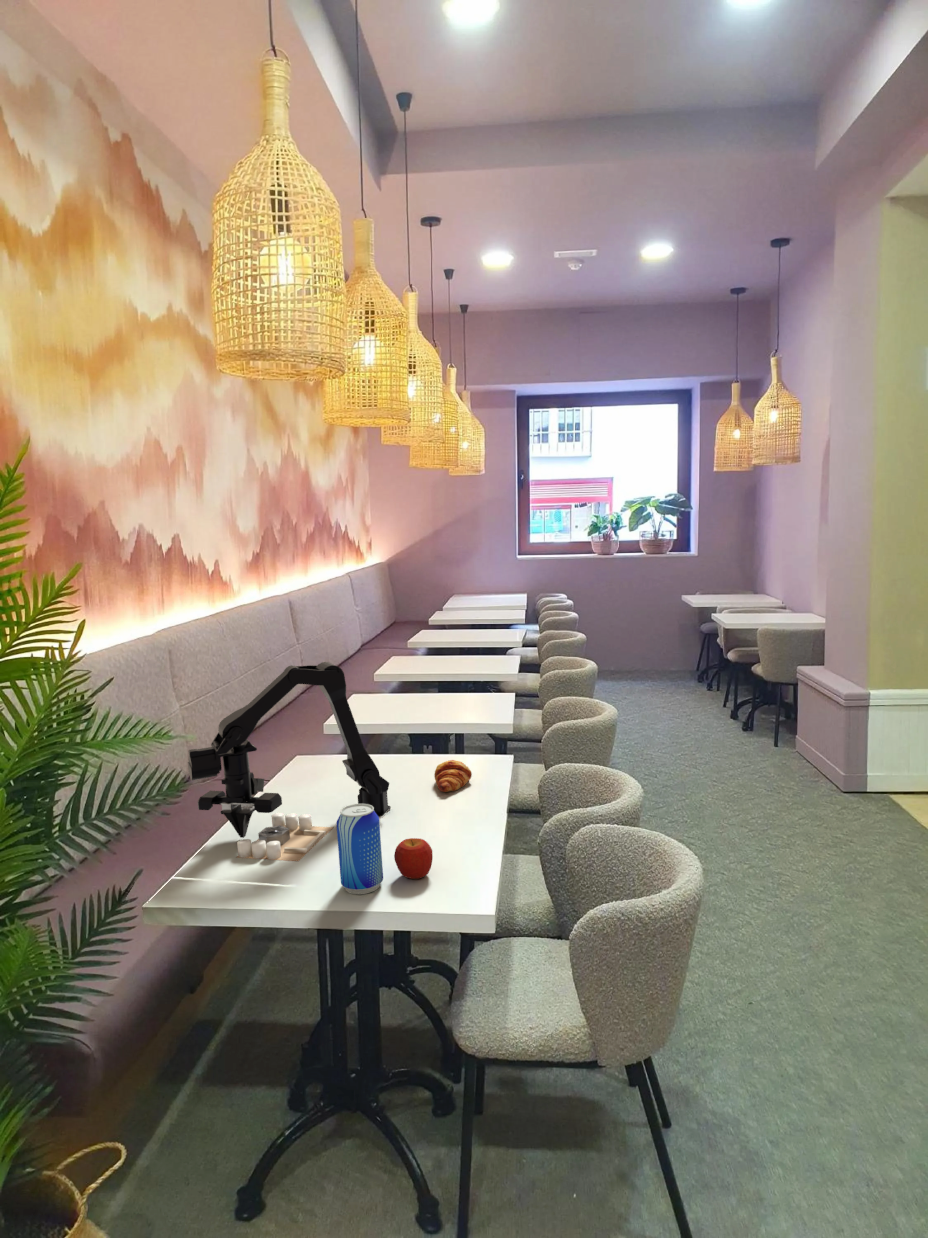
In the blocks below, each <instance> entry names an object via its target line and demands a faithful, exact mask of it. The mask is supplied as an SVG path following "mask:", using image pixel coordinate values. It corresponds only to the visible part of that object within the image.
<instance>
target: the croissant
mask: <svg viewBox="0 0 928 1238" xmlns="http://www.w3.org/2000/svg"><path fill="white" fill-rule="evenodd" d="M472 774H473V773H472V770H471V769H470V768H469V766H467V765H466V764H464V763H463V761H460V760H455V759H450V760H446V761H444V762H442V763H439V764H438V765H437V766H436V768H435V770H434V775H433V776H434V780H435V783H436V786H437V789H438V790H439V791H440V792H443V793H447V792H454V791H457V790H459V789H460V788H463V787H464V786H465V785H466V784H467V783H468V782H469V781H470V780H471V778H472V776H473V775H472Z"/></svg>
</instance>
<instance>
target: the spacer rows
mask: <svg viewBox="0 0 928 1238" xmlns="http://www.w3.org/2000/svg"><path fill="white" fill-rule="evenodd" d="M312 821H313V820H312V814H310V813H303V814H300V815H298V813H288V814H286V815H285V813H284V812H275V813H273V814H272V815H271V827H273V826H279V825H281V826H284V827H285V825H286V828H289V830H295V829H297V828H299V830H301V831H304V830H310V829H312V826H313V822H312ZM256 840H257V841H256ZM256 840H253V841H252V839H249V838H244V839H241V840H238V841H237V842H236V844H237V854H238V855H237V856H239V857H241V858H240V859H246V858H245V857H249V856H251V855H252V854H253V858H256V859H255V860H260V859H259V858H263V857H265V856H266V855H267V858H268V859H271V860H272V859H278V858H280V857H281V847H280V842H279V841H270V842H268V843H267V844H266V841H265V840H258V839H256ZM266 849H267V852H266ZM268 859H267V860H268ZM271 860H270V861H271ZM272 861H273V860H272Z"/></svg>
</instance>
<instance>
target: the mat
mask: <svg viewBox="0 0 928 1238" xmlns="http://www.w3.org/2000/svg"><path fill="white" fill-rule="evenodd" d="M285 827H286V824H285ZM333 829H334V827H332V826H316V825H314V826H313V825H312V829H310V830H304V831H301V830H299V828H297V829H295V830H289V832H290V839H289V840H288V841H287V842H286V843H285V844H284V845H280V847H281V857H280V858H278V859H272V861H287V862H300V860H302V859H303V858H304V857H305V856H306V855H307V854H308V853H309V852H310V851H312V849H313V848H314V847H315V846H317V844H318V843H319V842H321V841H322V840H323V838H325V837H326V835H327V834H329V832H331V831H333ZM257 840H259V838H258V839H256V840H255V841H257ZM266 852H267V849H266ZM235 858H237V859H239V858H240V859H242V858H241V857H239V856H238V855H237V856H236V857H235ZM244 859H251V860H252V859H253V860H254V859H255V860H257V859H256V858H253V854H252V855H251V856H249V857H245V858H244ZM258 860H267V861H268V860H269V861H271V859H268V858H267V855H266V856H265V857H263V858H259V859H258Z"/></svg>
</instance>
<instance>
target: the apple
mask: <svg viewBox="0 0 928 1238" xmlns="http://www.w3.org/2000/svg"><path fill="white" fill-rule="evenodd" d="M393 856H394V858H393V859H394V863H395V865H396V867H397V869H398V871H399V873H400V874H401V876H402V877H405V878H407V879H412V880H416V879H417V880H418V879H422V878H424V877H425V876H426V877H427V875H428V874H429V873H430V870H431V869H432V864H433V857H434V856H433V848H432V847H431V845H430V843H428V842H427V841H426V840H425V839H423V838H415V837H414V838H405V839H404V840H402V841H400V842H399V843H398V844H397V846H396V847H395V851H394V855H393Z"/></svg>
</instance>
